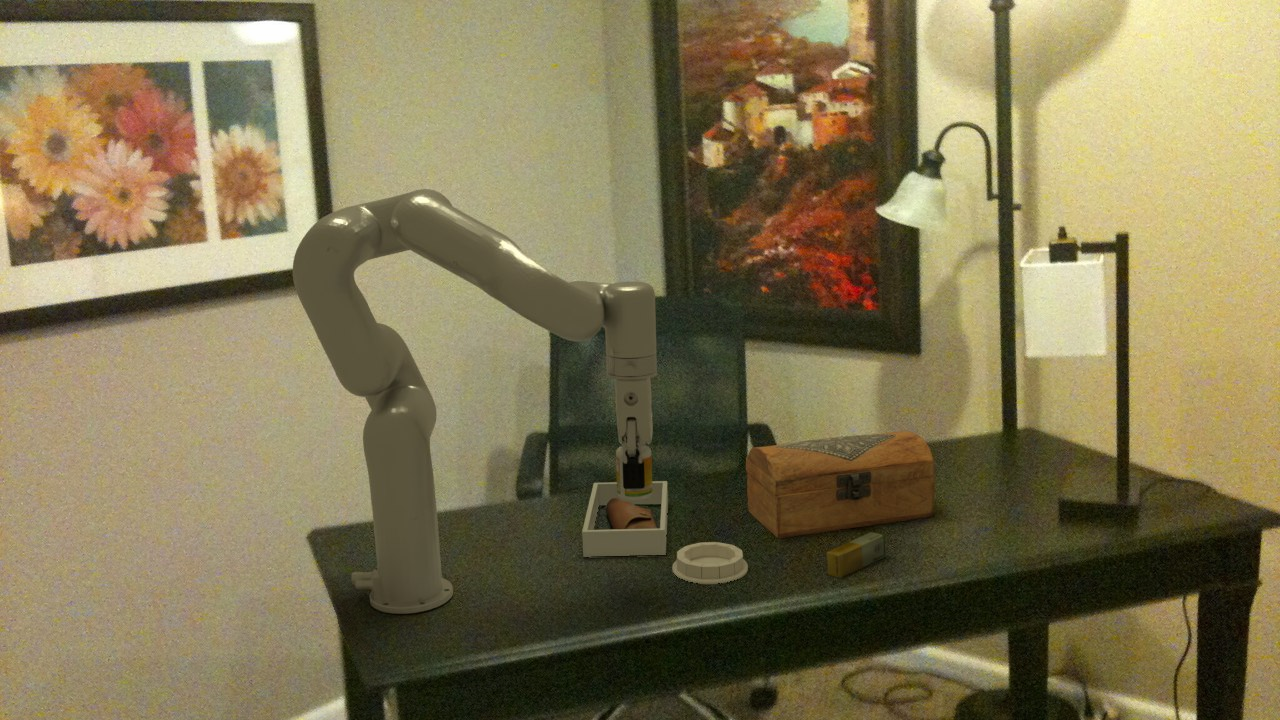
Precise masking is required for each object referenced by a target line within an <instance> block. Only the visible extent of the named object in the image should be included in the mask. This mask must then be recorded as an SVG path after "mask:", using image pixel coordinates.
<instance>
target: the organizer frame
mask: <svg viewBox="0 0 1280 720" xmlns="http://www.w3.org/2000/svg"><path fill="white" fill-rule="evenodd" d="M668 491H669V490H668V481H667V480H665V481H664V480H660V481H658V480H655V481H653V480H652V495H651V496H650V497H648V498H646V499H642V500H626V499H622V498H620V497H619V496H618V494H617V481H614V482H593V486H592V489H591V494H590V497H589V502H588V505H587V510H586V513H585V518H584V523H583V527H582V531H581V535H582V537H581V539H582V556H583V557H589V558H592V557H591V556H629V555H667V554H666V553H667V537H666V535H668V534H667V532H668V515H667V513H668V511H669V510H668V509H669V497H668V496H669V495H668V494H669V493H668ZM613 498H617V499H621V500H624V501H626V502H629V503H631V504H633V505H634V504H661V506H660V522H659V523H660V524H659V527H658V529H613V528H611V529H595V528H594V526H595V527H596V523H595V521H596V522H597V519H596V517H597V518H598V514H597V512H598V513H599V509H598V507H599V505H607V503H608V502H609V501H610V500H611V499H613ZM599 508H600V507H599Z"/></svg>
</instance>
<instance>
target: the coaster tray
mask: <svg viewBox="0 0 1280 720" xmlns="http://www.w3.org/2000/svg"><path fill="white" fill-rule="evenodd" d="M743 555H744V553H743V550H742V549H741V548H739V547H738V546H735V545H734V544H731V543H730V544H729V543H723V542H719V541H718V542H717V541H709V542H708V541H707V542H706V541H705V542H704V541H703V542H697V543H692V544H688V545H685V546H683V547H682V548H680V549H679V550H677V551H676V560H675V561H674V562H673V564H672V567H671V568H672V574H673V573H674V574H675V575H676V576H677V577H678V578H677V577H676V576H675V575H674V574H673V575H674V576H675V577H676V578H677V579H679V578H680V579H679V580H681V579H683V580H685V581H684V582H686V581H688V582H687V583H690V582H693V583H692V584H696V583H698V584H697V585H721V583H722V584H728V583H731V582H730V581H732V582H735V581H737V579H738V580H740V579H742V578H744V577H745V575H746V576H747V573H748V572H749V569H748V568H749V565H748V563H747V561H746V560H745V559H744V556H743ZM683 580H682V581H683ZM734 580H735V581H734ZM727 582H728V583H727ZM718 583H720V584H718Z"/></svg>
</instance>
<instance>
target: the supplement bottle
mask: <svg viewBox="0 0 1280 720" xmlns="http://www.w3.org/2000/svg"><path fill="white" fill-rule="evenodd" d="M626 442H627V439H626ZM636 442H639V438H637V439H636ZM623 443H624V442H623ZM636 449H638V447H636ZM638 457H639V455H638ZM615 462H616V463H615V464H616V467H615V468H616V469H615V470H616V482H617V494H618V496H619V497H620V498H622V499H626V500H642V499H646V498H648V497H650V496H651V495H652V482H653V468H652V467H653V466H652V450H651V447H649V446H648V445H647V442H642V462H644V474H645V487H644V488H643V489H625V488H624V487H623V462H624V446H623V445H622V444H621V446H619V447H618V448H617V449H616V450H615Z"/></svg>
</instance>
